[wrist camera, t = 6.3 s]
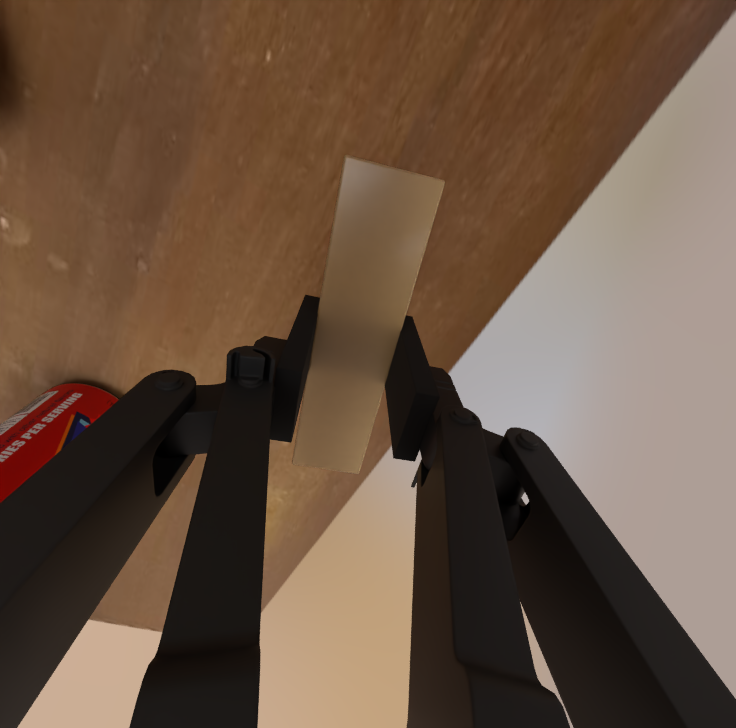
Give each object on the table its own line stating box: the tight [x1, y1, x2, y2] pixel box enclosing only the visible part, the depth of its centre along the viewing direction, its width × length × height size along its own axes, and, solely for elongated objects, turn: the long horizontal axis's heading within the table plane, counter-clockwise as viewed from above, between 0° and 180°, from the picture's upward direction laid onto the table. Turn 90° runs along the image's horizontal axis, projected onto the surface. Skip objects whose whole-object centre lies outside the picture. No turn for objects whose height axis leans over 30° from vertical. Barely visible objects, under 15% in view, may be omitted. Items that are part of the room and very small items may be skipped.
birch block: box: [292, 155, 445, 474], centre depth 17 cm, size 4×14×4 cm, turn 167°
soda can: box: [0, 383, 119, 503], centre depth 25 cm, size 8×8×15 cm
